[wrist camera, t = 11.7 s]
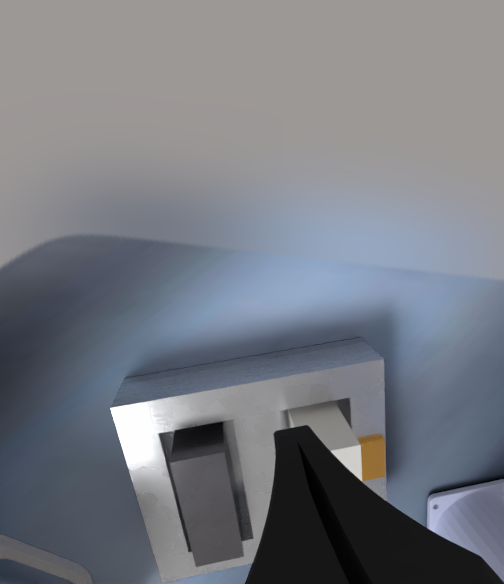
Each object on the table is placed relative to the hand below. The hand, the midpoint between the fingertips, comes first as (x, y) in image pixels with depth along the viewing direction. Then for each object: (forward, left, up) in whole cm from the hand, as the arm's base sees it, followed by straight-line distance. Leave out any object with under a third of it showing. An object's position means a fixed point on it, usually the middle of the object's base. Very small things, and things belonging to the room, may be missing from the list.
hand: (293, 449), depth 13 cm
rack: (-8, +1, -10) cm, 13 cm away
